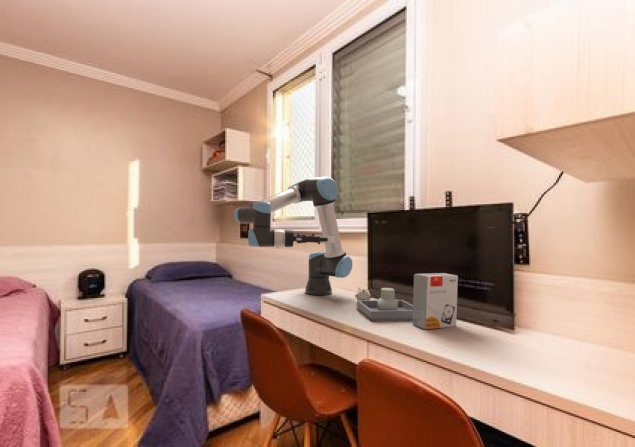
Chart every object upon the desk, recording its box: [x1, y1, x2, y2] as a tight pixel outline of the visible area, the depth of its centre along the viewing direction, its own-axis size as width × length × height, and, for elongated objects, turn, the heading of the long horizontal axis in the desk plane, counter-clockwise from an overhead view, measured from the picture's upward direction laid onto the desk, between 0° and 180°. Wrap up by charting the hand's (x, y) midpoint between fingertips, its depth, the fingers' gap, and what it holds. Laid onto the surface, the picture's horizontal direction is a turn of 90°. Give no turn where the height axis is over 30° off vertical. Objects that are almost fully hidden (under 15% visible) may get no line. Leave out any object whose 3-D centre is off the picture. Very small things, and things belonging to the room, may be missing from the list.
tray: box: [356, 299, 413, 322], centre depth 148 cm, size 20×22×4 cm
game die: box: [354, 287, 373, 301], centre depth 165 cm, size 9×8×10 cm
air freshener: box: [377, 287, 399, 311], centre depth 148 cm, size 11×8×10 cm
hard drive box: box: [411, 272, 459, 330], centre depth 132 cm, size 16×8×20 cm, turn 112°
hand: (331, 239), depth 153 cm, fingers open, 13 cm apart
